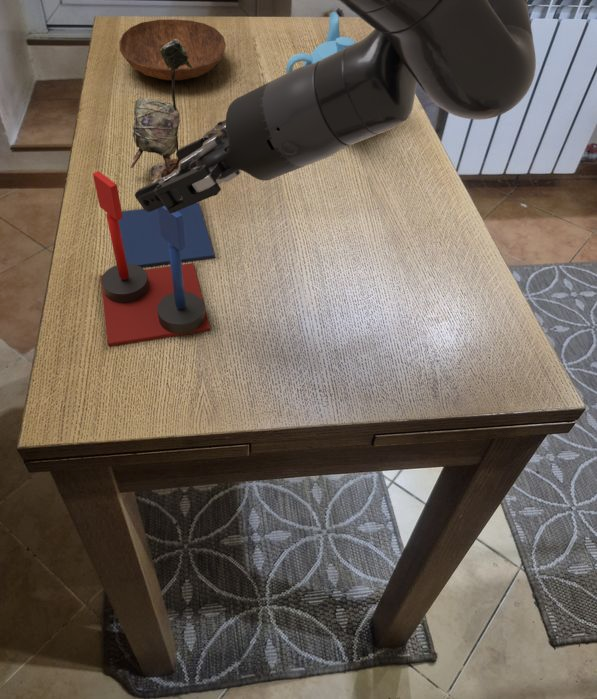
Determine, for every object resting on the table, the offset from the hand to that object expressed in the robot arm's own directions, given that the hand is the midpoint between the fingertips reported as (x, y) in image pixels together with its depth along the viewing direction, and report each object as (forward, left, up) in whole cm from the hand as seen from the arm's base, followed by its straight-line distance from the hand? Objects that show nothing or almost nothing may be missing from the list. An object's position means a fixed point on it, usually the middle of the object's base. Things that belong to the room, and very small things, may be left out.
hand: (162, 180), depth 62 cm
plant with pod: (+3, +29, -19) cm, 35 cm away
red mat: (-3, +2, -19) cm, 19 cm away
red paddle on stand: (-6, +5, -18) cm, 20 cm away
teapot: (+34, +41, -19) cm, 57 cm away
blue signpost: (0, -1, -18) cm, 19 cm away
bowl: (+9, +65, -19) cm, 68 cm away
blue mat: (0, +15, -19) cm, 24 cm away
